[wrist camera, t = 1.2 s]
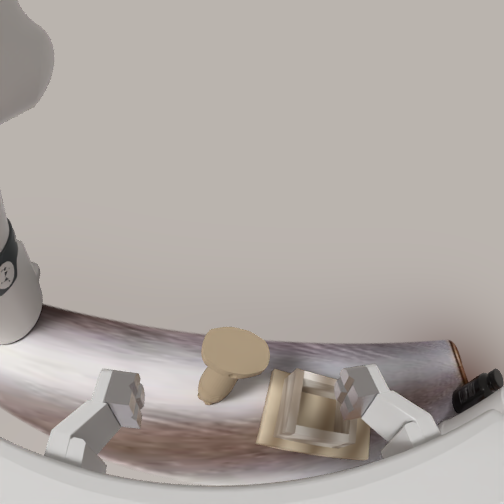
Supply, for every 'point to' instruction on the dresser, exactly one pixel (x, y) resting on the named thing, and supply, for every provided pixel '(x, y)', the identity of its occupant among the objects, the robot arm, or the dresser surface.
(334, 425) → the tool holder
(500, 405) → the bottle
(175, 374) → the dresser surface
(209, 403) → the handle
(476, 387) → the supplement bottle
